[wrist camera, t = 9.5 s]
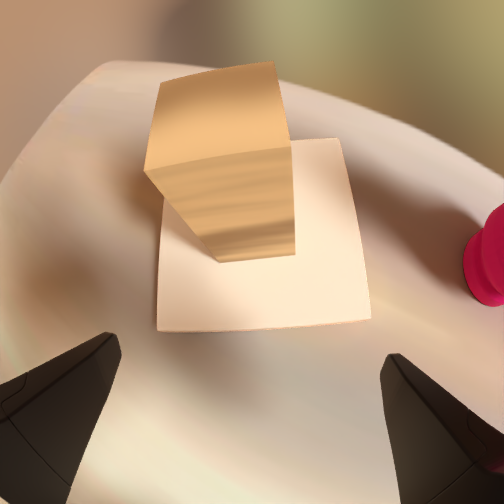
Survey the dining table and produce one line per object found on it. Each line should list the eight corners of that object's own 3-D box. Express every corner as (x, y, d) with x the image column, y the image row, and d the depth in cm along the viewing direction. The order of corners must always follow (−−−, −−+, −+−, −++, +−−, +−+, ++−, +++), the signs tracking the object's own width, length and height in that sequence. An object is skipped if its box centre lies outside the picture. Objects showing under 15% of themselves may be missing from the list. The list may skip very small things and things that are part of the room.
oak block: (295, 254, 19) (291, 146, 9) (220, 263, 20) (143, 171, 9) (286, 188, 21) (273, 60, 10) (218, 197, 21) (160, 82, 11)
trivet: (366, 320, 19) (371, 318, 17) (165, 332, 20) (156, 330, 19) (336, 149, 23) (338, 137, 22) (175, 167, 25) (168, 157, 23)
